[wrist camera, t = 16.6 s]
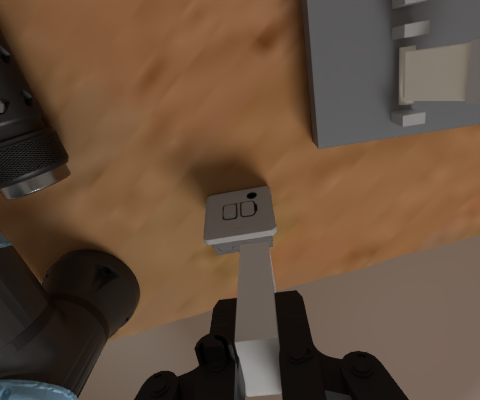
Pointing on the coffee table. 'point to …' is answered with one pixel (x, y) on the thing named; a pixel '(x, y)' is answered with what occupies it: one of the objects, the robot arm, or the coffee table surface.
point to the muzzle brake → (25, 136)
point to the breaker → (440, 73)
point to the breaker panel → (379, 66)
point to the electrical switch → (239, 219)
